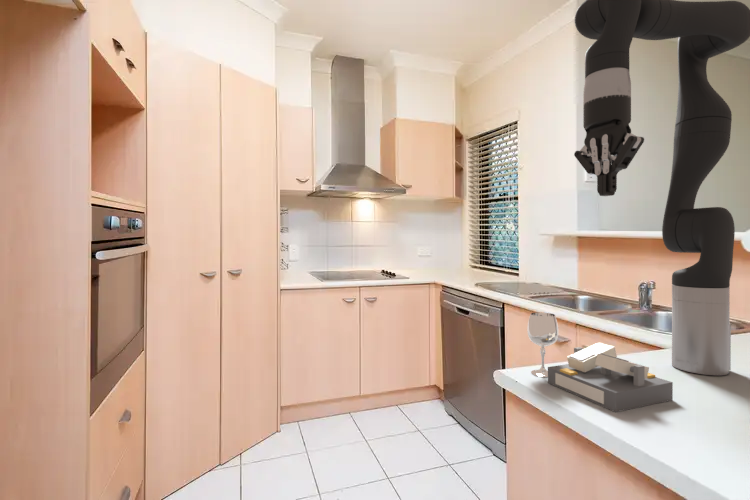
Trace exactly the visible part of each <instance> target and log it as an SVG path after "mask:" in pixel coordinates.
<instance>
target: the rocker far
mask: <svg viewBox="0 0 750 500" xmlns="http://www.w3.org/2000/svg"><path fill="white" fill-rule="evenodd" d="M595 365H597V366H600V367H603V368H607V369H610V370H613V371H616V372H620V373H624V374H628V375H632V376H634V366H635V365H640V364H638V363H635V362H631V361H629V360H626V359H622V358H620V357H618V356H617V357H613V356H609V355H606V354H602V353H600V354H597V358H596V363H595ZM643 366H644V379H647V376H648V373H649V370H650V367H649V366H646V365H643Z"/></svg>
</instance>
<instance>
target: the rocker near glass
mask: <svg viewBox="0 0 750 500" xmlns="http://www.w3.org/2000/svg"><path fill="white" fill-rule="evenodd" d="M600 353H602V354H606V355H609V356H613V357H617V358H618V355H617V350H616V346H614V345H609V344H606V343H603V342H596V343H594V344H591V345H589V346H587V347H586V348H583V350H581V351H578V352H576V353H574V352H573V353H571V354H570V355H567V364H569V367H571V368H574V369H576V370H579V371H582V372H587V371H589V370H591V369H593V368H595V367H597V365H595V363H596V358H597V354H600Z"/></svg>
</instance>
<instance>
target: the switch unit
mask: <svg viewBox="0 0 750 500" xmlns="http://www.w3.org/2000/svg"><path fill="white" fill-rule="evenodd" d="M583 349H584V348H583V347H581V346H579V347H578V346H577V347H573V354H574V353H576V352H578V351H581V350H583ZM644 366H645V365H643V364H639V365H635V366H634V376H632V375H628V374H624V373H620V372H616V371H613V370H610V369H607V368H603V367H600V366H597V367H595V368H593V369H591V370H589V371H587V372H582V371H579V370H576V369H574V368H571V367H569V364H568V363H566V364H558V365H552V366H547V371H548V377H547V383H548V384H549V385H552V386H554V387H557V388H559V389H561V390H564V391H566V392H567V393H568V392H569V393H570V394H573V395H575V396H577V397H580V398H582V399H585V400H586V401H589V402H592V403H593V404H596V405H598V406H601V407H603V408H605V409H607V410H610V411H612V412H613V413H614V412H615V413H618V412H622V411H627V410H633V409H637V408H642V407H647V406H650V405H656V404H661V403H666V402H670V401H673V395H674V394H673V387H674V386H673V385H674V383H673V381H670V380H667V379H663V378H660V377H657V376H656V374H653V373H651V372H648V376H647V379H644Z"/></svg>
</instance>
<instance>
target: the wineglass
mask: <svg viewBox="0 0 750 500" xmlns="http://www.w3.org/2000/svg"><path fill="white" fill-rule="evenodd" d="M529 314H530V315H529V318H528V321H527V329H526V330H527V336H528V338H529V340H530V342H532V343H533V344H535V345H536V346H539V347H541V348H540V350H539V353H540V357H541V366H540V368H539V369H534V370H531V371H530V374H531V375H533V376H535V377H540V378H548V369H546V368H545V357H546V356H545V355H546V347H548V346H549V347H550V346H552V345H553V344H555V343H556V342H557V341H558V339H559V338H558V337H559V324H558V320H557V317H556V314H554V313H549V312H531V313H529Z"/></svg>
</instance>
